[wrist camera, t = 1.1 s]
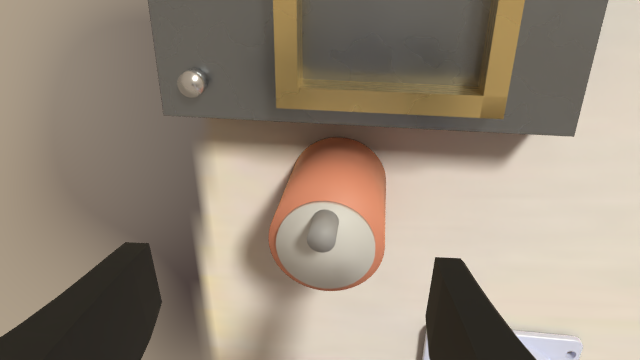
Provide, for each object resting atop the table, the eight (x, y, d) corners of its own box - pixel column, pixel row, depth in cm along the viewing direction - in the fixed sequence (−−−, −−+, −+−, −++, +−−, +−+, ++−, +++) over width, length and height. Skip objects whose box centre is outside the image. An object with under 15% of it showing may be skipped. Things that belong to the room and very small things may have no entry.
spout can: (382, 224, 25) (380, 323, 19) (293, 217, 25) (261, 312, 19) (389, 140, 23) (388, 219, 17) (291, 134, 23) (256, 209, 17)
